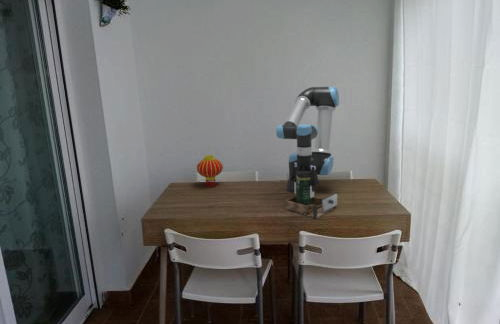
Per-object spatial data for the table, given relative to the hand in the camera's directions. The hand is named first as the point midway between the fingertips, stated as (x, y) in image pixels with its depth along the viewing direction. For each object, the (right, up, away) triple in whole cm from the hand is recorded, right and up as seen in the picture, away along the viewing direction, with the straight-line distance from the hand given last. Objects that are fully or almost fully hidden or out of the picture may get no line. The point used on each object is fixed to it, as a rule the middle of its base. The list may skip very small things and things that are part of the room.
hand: (304, 195), depth 194 cm
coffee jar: (0, -4, +1) cm, 4 cm away
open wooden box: (+2, -8, 0) cm, 8 cm away
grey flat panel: (+14, -7, -3) cm, 15 cm away
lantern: (-55, +2, +49) cm, 74 cm away
